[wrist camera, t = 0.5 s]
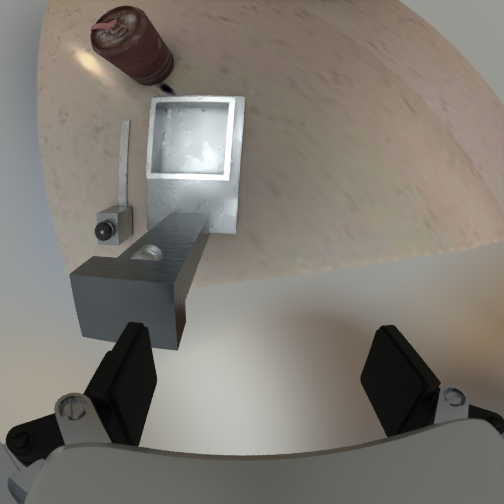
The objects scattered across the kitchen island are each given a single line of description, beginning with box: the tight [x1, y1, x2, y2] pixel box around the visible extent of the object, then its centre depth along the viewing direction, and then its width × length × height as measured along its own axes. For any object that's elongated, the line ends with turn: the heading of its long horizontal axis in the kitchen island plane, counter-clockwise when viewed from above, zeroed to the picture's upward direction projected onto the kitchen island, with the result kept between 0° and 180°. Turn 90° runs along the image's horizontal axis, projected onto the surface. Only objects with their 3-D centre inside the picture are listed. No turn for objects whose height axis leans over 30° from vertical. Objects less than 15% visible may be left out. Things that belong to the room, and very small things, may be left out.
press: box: [69, 95, 245, 350], centre depth 23 cm, size 19×17×25 cm
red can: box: [91, 6, 174, 85], centre depth 23 cm, size 6×6×14 cm
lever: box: [95, 207, 132, 245], centre depth 33 cm, size 4×3×7 cm
